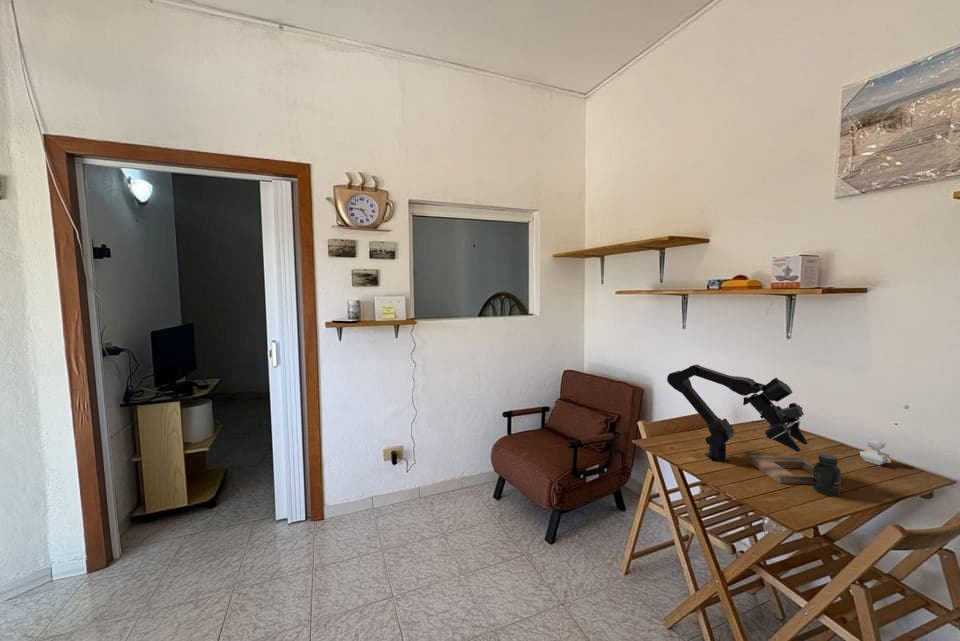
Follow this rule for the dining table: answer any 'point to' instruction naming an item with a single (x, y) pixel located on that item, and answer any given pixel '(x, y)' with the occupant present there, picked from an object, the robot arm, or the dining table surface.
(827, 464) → the supplement bottle
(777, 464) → the tan flat square frame
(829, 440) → the dining table surface
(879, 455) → the stamp
